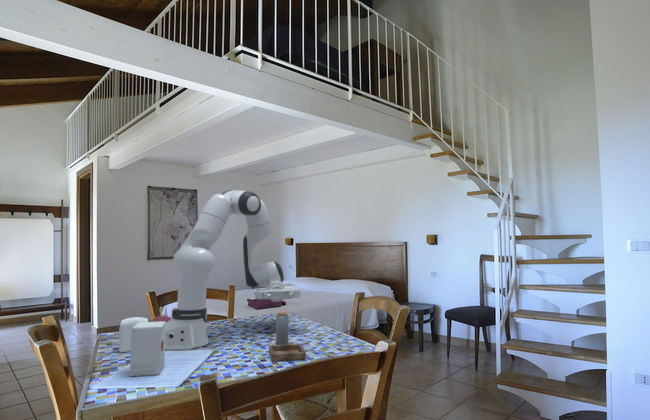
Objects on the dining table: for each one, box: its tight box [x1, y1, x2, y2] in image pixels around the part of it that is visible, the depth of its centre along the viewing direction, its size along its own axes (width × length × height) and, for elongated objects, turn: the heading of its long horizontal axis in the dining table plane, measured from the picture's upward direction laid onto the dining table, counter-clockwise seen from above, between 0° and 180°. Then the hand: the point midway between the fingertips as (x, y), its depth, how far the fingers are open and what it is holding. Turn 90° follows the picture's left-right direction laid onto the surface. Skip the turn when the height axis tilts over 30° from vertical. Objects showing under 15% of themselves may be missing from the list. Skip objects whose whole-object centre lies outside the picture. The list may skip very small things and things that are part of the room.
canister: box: [275, 309, 290, 345], centre depth 162 cm, size 5×5×14 cm
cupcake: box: [151, 305, 172, 323], centre depth 183 cm, size 9×8×12 cm
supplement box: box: [129, 321, 166, 377], centre depth 129 cm, size 9×9×15 cm
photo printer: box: [118, 316, 149, 353], centre depth 152 cm, size 10×4×12 cm, turn 112°
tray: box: [268, 343, 307, 363], centre depth 147 cm, size 12×12×2 cm
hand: (279, 296), depth 175 cm, fingers open, 8 cm apart
